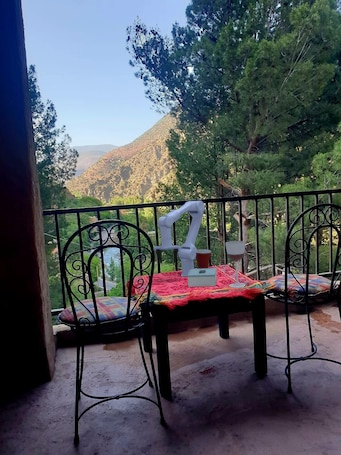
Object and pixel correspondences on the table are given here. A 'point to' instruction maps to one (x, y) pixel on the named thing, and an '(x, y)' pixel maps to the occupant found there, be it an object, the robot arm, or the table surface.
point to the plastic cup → (203, 258)
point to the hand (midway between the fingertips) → (168, 262)
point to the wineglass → (236, 257)
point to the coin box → (202, 277)
